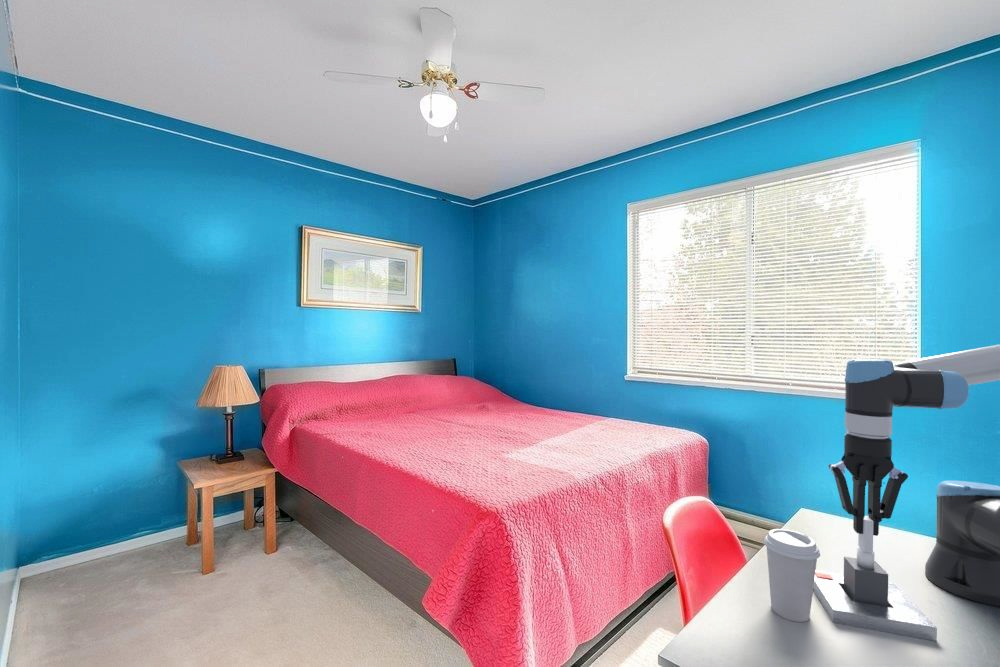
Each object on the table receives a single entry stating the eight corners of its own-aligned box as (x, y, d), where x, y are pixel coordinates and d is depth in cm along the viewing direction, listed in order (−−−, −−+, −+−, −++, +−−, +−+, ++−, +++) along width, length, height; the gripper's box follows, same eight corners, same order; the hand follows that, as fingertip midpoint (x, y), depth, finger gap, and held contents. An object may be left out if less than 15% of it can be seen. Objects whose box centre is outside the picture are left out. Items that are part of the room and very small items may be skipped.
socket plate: (892, 593, 98) (893, 581, 98) (936, 641, 83) (936, 626, 83) (806, 579, 103) (806, 567, 103) (833, 622, 88) (833, 608, 88)
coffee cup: (828, 630, 86) (830, 551, 85) (773, 623, 87) (774, 545, 87) (805, 601, 95) (807, 529, 95) (755, 595, 97) (756, 525, 97)
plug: (874, 599, 95) (875, 546, 95) (887, 614, 90) (888, 559, 89) (843, 594, 97) (844, 542, 96) (854, 609, 91) (855, 554, 91)
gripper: (897, 433, 94) (895, 546, 94) (823, 428, 98) (821, 536, 99) (917, 441, 87) (914, 564, 87) (836, 435, 91) (834, 552, 91)
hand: (865, 549), depth 93 cm, fingers closed
